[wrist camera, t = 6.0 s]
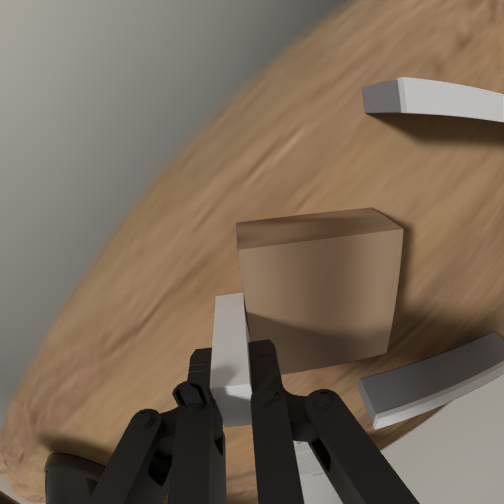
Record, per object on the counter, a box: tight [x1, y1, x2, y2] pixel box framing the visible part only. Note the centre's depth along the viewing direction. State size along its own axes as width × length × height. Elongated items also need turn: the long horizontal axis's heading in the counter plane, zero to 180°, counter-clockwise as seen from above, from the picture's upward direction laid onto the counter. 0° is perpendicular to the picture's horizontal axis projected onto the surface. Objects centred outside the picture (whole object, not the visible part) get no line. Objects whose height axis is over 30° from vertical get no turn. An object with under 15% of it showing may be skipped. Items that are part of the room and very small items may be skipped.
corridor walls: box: [359, 77, 504, 430], centre depth 17 cm, size 16×23×4 cm
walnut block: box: [236, 208, 403, 375], centre depth 17 cm, size 8×8×4 cm
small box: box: [293, 441, 343, 504], centre depth 22 cm, size 8×6×10 cm
